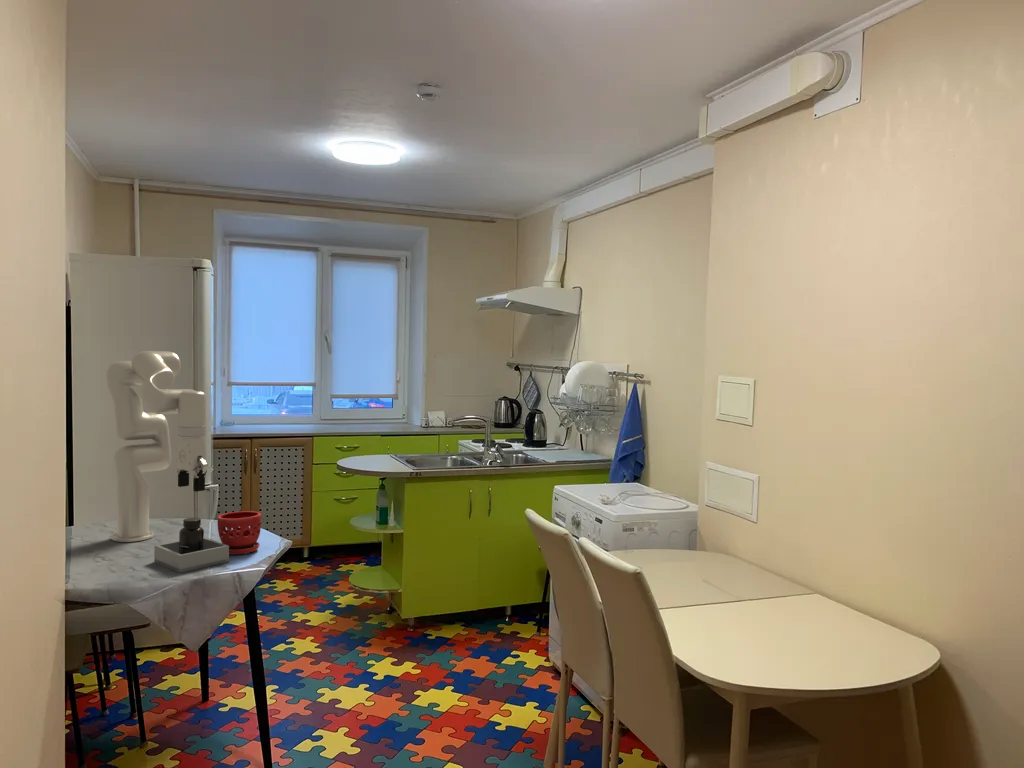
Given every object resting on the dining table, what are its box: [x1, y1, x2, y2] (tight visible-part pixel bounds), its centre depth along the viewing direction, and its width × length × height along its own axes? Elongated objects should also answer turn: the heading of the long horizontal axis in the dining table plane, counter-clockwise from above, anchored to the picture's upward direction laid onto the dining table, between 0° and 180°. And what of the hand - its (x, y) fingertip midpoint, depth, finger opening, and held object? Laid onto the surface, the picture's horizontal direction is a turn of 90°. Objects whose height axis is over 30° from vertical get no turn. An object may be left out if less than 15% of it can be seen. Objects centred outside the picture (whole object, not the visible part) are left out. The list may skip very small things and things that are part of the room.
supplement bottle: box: [178, 517, 205, 554], centre depth 212 cm, size 7×7×12 cm
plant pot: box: [217, 510, 262, 555], centre depth 225 cm, size 13×13×12 cm
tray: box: [153, 536, 230, 574], centre depth 213 cm, size 16×15×5 cm
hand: (191, 488), depth 212 cm, fingers open, 9 cm apart
